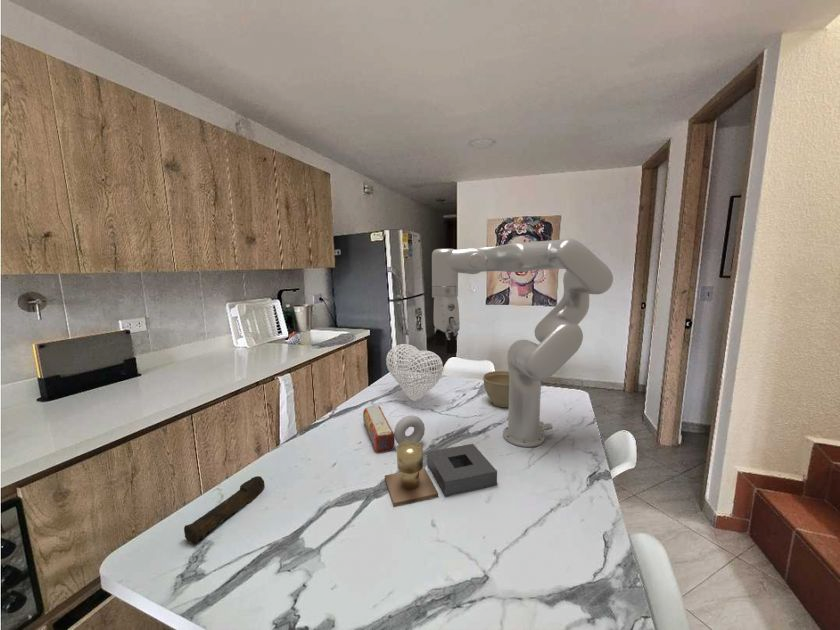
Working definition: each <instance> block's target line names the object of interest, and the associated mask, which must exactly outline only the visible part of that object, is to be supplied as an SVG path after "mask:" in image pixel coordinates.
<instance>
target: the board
mask: <svg viewBox="0 0 840 630" xmlns="http://www.w3.org/2000/svg"><path fill="white" fill-rule="evenodd" d="M384 481H385V484H386V487H387V491H388V494H389V496H390V500H391V502H392V503H391V504H392V506H393V508H394V507H400V506H403V505H408V504H414V503H418V502H423V501H426V500H431V499H435V498H439V492H438V490H437V488H436V486H435V484H434V482H433V481H432V479H431V477H430V475H429V474H428V472H427V469H426V468H425V467H423V468H422V469H421V470H420V471H419V486H418V487H417V488H416V489H413V490H407V489H405V488H403V487H402V473H401V471H399V472H396V473H391V474H386V475H384Z"/></svg>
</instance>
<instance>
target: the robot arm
mask: <svg viewBox="0 0 840 630" xmlns="http://www.w3.org/2000/svg"><path fill="white" fill-rule="evenodd" d="M557 269H558V270H565V272H564V274H563V277H562V278H563V279H562V283H563V294H562V297H561V299H560V300H559V302H558V303H557V305H555V306H554V307H553V308H552V309H551V310H550V311H549V312H548V314H546V315H545V316H544V317H543V318H542V319H541V320H540V321H539V322H538V323H537V324H536V326H535V327H534V336H535V338H536V340H537V341H538V343H539V344H538V343H536V342H533V341H532V340H528V339H519V340H516V341H514V342H513V343H512V344H511V345H510V347H509V348H508V349H507V350H508V351H507V366H508V367H507V368H508V371H509V407H508V413H507V414H508V415H507V417H508V419H507V420H508V421H507V424H508V425H507V426H506V427H505V428H504V429H503V431H502V436H503V438H504V439H505V440H506V441H507V442H508V443H510V444H512V445H514V446H518V447H525V448H532V447H537V446H540V445H542V444H543V443H544V441H545V435H544V434H543V432H545V431H550V430H552V429H553V425H552V423H551V422H550V423H549V422H548V423H544V421H543V420H542V421H541V420H540V418H541V392H542V381H545V380H548V379H550V378H551V377H552V376H553V375H555V374H556V373H557V372H558V371H559V370H560V369H561V368H562V367H563V366H564V365H565V364H566V363H567V362H568V361H569V360H570V359H571V358H572V357H573V356H574V355H575V354H576V353H577V352H578V351H579V349H580V347H581V346H582V344H583V340H584V333H583V330H582V328H581V326H579V324H580V323H581V322H582V321H583V319H585V317H586V316H587V314H588V311H589V307H590V295H603V294H604V293H606V292H608V290H610V288H611V287H612V285H613V284H614V283H613V282H614V277H613V273H612V271H611V269H610V268H609V267H608V266H607V264H606V263H604V262H603V261H602V260H601V259H600V258H599V257H598V256H597V255H596V254H595V253H593V252H592V251H591V250H590V249H589V248H588V247H587V246H586V245H584V244H583V243H582V242H580V241H579V240H577V239H574V238H563V239H553V240H537V241H523V242H513V243H507V244H502V245H496V246H488V247H487V246H486V247H465V248H459V249H454V248H437V249H434V250H433V251H432V252H431V297H432V298H433V326H434V328H433V333H434V334H433V335H434V346H435V347H440V346H445V353H446V354H447V355H451V354H457V353H458V335H459V331H460V329H461V327H460V323H461V322H460V307H459V300H458V297H459V273H460V274H468V275H476V274H479V273H481V272H482V273H483V272H485V273H486V272H505V273H522V272H532V271H543V270H546V271H547V270H557ZM445 339H446V340H445Z"/></svg>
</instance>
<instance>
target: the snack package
mask: <svg viewBox="0 0 840 630" xmlns="http://www.w3.org/2000/svg"><path fill="white" fill-rule="evenodd" d="M362 415H363V423H364V424H365V426H366V430H367V432H368V435H369V437H370V439H371V442H372V445H373V447H374V450H375V451H376V452H377V453H380V454H381V453H386V452H389V451H392V450H393V449H394V447H395V444H396V443H395V442H396V440H395V437H394V431H393V429H392V428H391V425H390V424H389V422H388V420H387V418H386V416H385V414H384V412H383V410H382V408H381V406H379V405H368V406H367V407H365V408H364V410H363V414H362Z"/></svg>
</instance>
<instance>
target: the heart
mask: <svg viewBox="0 0 840 630" xmlns="http://www.w3.org/2000/svg"><path fill="white" fill-rule="evenodd" d="M385 361H386V362H385V364H386V367H387V370H388V372H389V373H390V375H391V376H392V377H393V379H395V381H396V382H397V384H398V385H399V387H400V388H401V389H402V390H403V391H404V393H405V394H406V396H407V397H408V398H409V399H410V400H411V401H414V402H417V401H419V400H421V399H422V398H423V397H424V396H425V395H426V394H427V393H428V392H430V390H432V389H433V388H434V387H435V386H436V384H438V382H439V380H440V379H441V378H442V375H443V370H444V366H443V361H442V359H441V357H440V356H439V355H438V354H436V353H435V352H433V351H430V350H419V349H418V348H417V347H416V346H414V345H412V344H408V343H401V344H397V345H395V346H393V347H392V348H391V349H390V350H389V351H388V353H387V354H386V358H385Z"/></svg>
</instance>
